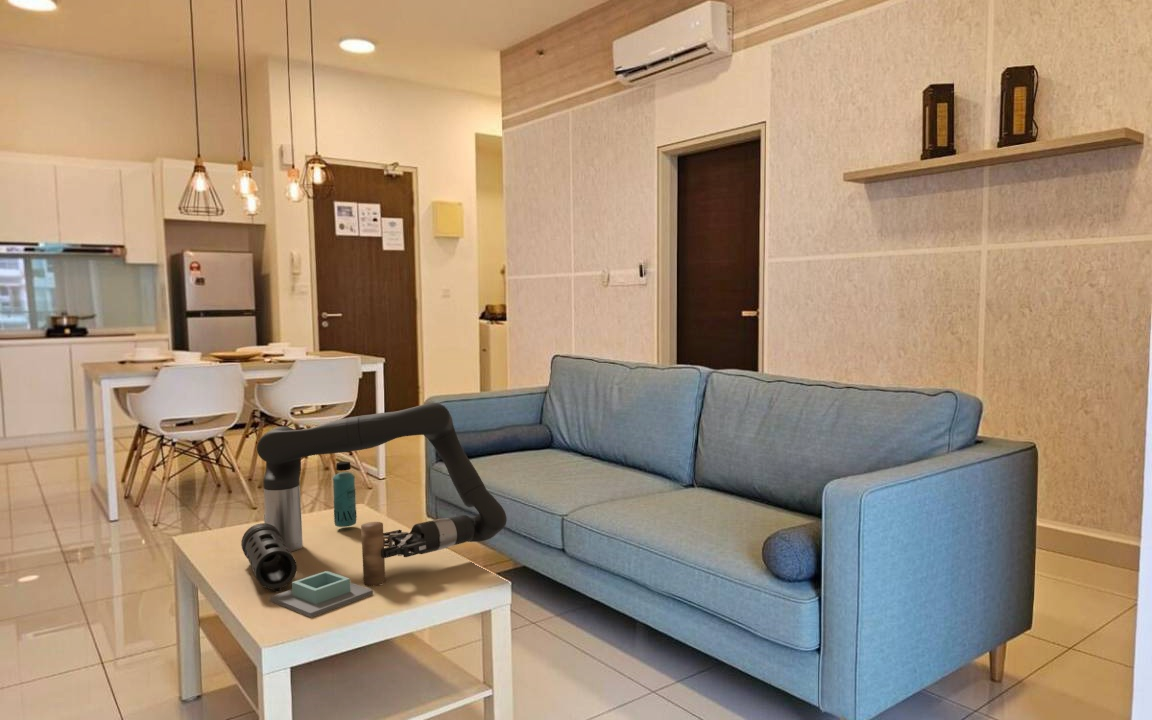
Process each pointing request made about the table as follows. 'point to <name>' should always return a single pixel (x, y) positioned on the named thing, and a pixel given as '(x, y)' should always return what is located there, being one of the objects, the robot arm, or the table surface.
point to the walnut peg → (373, 553)
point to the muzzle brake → (268, 556)
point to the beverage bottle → (344, 496)
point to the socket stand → (320, 594)
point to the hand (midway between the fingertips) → (373, 549)
